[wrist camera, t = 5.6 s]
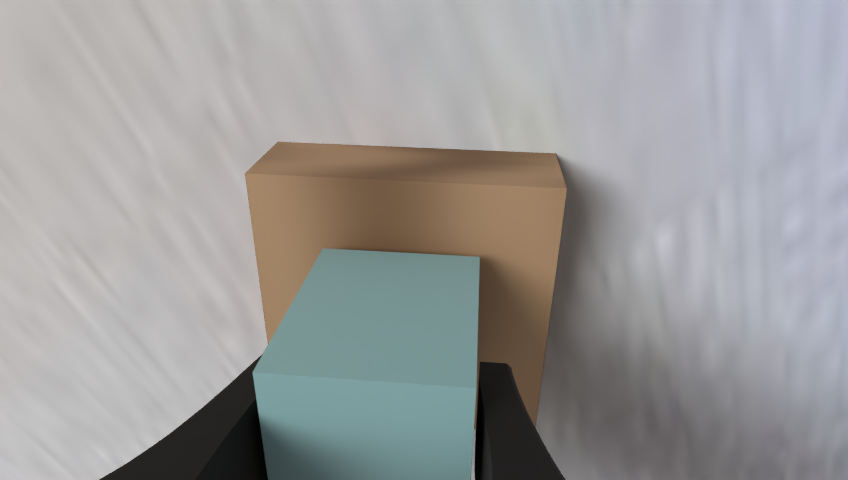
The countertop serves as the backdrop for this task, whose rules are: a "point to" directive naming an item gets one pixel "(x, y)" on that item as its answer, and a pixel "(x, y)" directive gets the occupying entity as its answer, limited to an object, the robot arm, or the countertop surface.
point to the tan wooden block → (420, 230)
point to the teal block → (373, 370)
